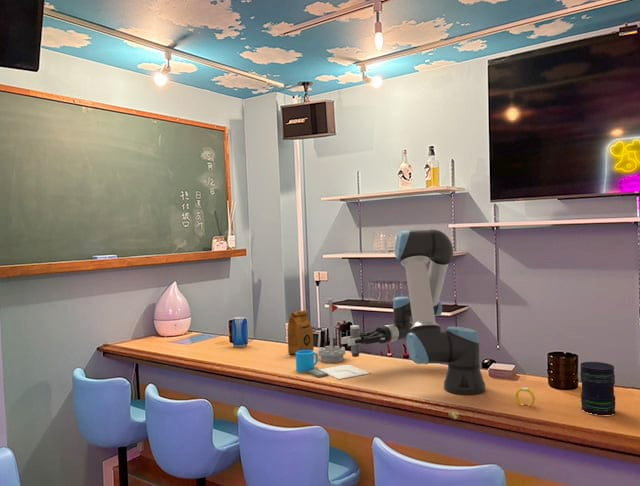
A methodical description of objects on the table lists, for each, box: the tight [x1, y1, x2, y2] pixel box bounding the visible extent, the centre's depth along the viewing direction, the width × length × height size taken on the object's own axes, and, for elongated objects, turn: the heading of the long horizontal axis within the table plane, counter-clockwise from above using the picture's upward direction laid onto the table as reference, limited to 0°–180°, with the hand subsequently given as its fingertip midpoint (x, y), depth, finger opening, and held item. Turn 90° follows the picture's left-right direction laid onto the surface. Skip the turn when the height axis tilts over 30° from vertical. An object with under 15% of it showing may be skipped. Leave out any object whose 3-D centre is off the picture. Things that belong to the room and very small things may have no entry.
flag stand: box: [318, 297, 346, 363], centre depth 247 cm, size 13×13×30 cm
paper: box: [318, 364, 371, 381], centre depth 224 cm, size 18×16×1 cm
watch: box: [515, 386, 536, 407], centre depth 174 cm, size 6×3×6 cm, turn 51°
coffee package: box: [287, 309, 315, 356], centre depth 263 cm, size 10×12×22 cm
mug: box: [295, 350, 319, 373], centre depth 231 cm, size 12×8×8 cm
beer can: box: [231, 316, 249, 349], centre depth 285 cm, size 8×8×16 cm
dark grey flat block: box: [306, 368, 329, 379], centre depth 222 cm, size 10×5×1 cm, turn 30°
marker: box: [349, 324, 361, 358], centre depth 219 cm, size 4×4×13 cm
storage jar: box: [579, 361, 616, 415], centre depth 166 cm, size 10×10×15 cm
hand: (345, 341), depth 216 cm, fingers closed on marker, 4 cm apart
